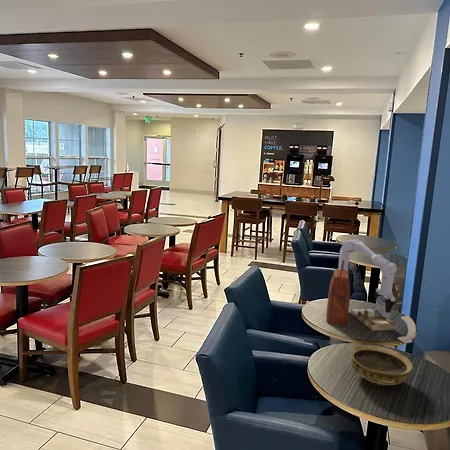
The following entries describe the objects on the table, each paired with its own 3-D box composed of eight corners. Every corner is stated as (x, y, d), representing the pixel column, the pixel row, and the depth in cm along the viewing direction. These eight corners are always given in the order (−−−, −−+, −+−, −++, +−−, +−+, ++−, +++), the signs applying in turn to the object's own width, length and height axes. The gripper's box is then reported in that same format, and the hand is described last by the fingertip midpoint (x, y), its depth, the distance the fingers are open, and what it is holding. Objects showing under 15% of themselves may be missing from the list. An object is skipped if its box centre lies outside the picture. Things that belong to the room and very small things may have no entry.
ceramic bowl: (418, 407, 149) (422, 382, 147) (351, 396, 153) (354, 371, 151) (399, 367, 178) (402, 345, 176) (343, 358, 182) (345, 337, 180)
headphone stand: (404, 337, 209) (407, 315, 207) (413, 343, 204) (417, 320, 202) (397, 339, 207) (401, 316, 205) (407, 344, 202) (411, 321, 200)
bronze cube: (371, 315, 229) (372, 308, 228) (377, 315, 230) (378, 308, 229) (374, 318, 225) (375, 311, 224) (381, 318, 226) (382, 311, 225)
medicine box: (374, 310, 223) (376, 295, 221) (382, 311, 223) (384, 296, 222) (382, 316, 215) (384, 301, 214) (390, 316, 216) (392, 301, 214)
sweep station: (350, 312, 239) (351, 306, 238) (368, 312, 242) (369, 306, 241) (372, 330, 216) (373, 322, 215) (392, 330, 218) (393, 322, 218)
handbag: (326, 324, 221) (333, 262, 214) (326, 311, 239) (333, 253, 233) (346, 327, 218) (354, 265, 212) (344, 313, 237) (352, 256, 230)
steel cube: (363, 315, 228) (364, 308, 227) (370, 315, 229) (371, 308, 228) (367, 318, 224) (368, 311, 223) (373, 318, 225) (374, 311, 224)
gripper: (372, 280, 223) (369, 304, 225) (387, 289, 209) (384, 314, 211) (383, 281, 224) (380, 304, 226) (400, 289, 210) (396, 314, 212)
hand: (383, 309), depth 219 cm, fingers closed on medicine box, 7 cm apart
